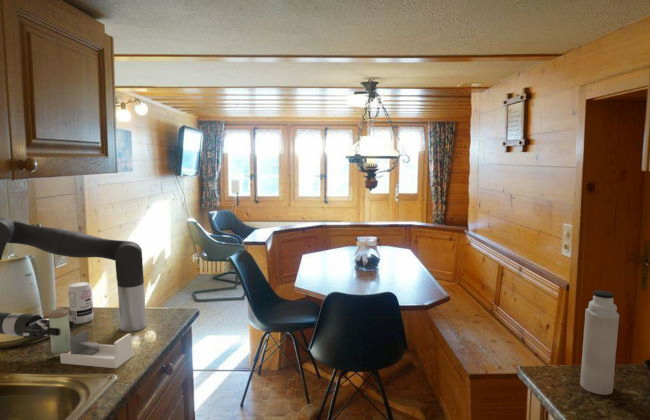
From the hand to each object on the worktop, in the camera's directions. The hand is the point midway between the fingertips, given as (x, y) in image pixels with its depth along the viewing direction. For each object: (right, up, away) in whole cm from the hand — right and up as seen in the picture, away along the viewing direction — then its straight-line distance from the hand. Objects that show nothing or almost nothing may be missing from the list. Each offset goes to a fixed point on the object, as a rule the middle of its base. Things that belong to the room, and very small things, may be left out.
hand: (66, 328), depth 146 cm
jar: (-2, -7, +1) cm, 8 cm away
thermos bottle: (+163, -12, -19) cm, 164 cm away
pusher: (+7, -9, 0) cm, 11 cm away
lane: (+11, -10, -1) cm, 15 cm away
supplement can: (-13, -6, +33) cm, 36 cm away
